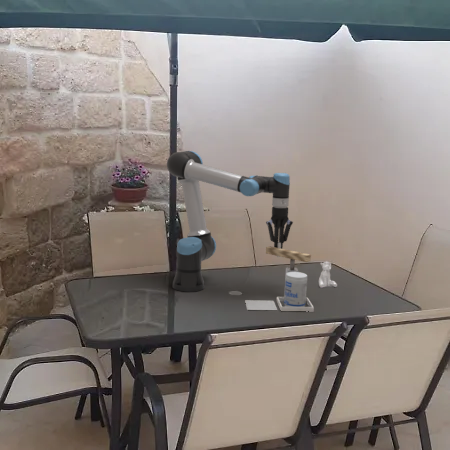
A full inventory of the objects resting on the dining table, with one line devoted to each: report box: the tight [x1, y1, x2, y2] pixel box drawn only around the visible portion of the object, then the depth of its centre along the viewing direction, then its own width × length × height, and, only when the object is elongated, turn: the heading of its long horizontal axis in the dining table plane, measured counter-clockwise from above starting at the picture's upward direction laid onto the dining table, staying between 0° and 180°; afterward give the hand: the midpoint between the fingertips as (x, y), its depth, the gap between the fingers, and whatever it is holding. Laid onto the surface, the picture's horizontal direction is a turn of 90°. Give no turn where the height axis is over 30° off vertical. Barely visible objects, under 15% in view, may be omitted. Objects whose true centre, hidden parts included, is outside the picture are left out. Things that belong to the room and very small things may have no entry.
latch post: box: [284, 266, 299, 278], centre depth 275 cm, size 5×5×14 cm
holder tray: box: [276, 296, 315, 313], centre depth 265 cm, size 14×14×2 cm
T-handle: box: [265, 246, 312, 269], centre depth 275 cm, size 22×3×8 cm, turn 50°
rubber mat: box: [244, 299, 278, 311], centre depth 264 cm, size 13×13×1 cm
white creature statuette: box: [318, 261, 338, 289], centre depth 299 cm, size 10×9×12 cm
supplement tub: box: [283, 271, 308, 307], centre depth 264 cm, size 10×10×15 cm
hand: (277, 256), depth 283 cm, fingers closed
